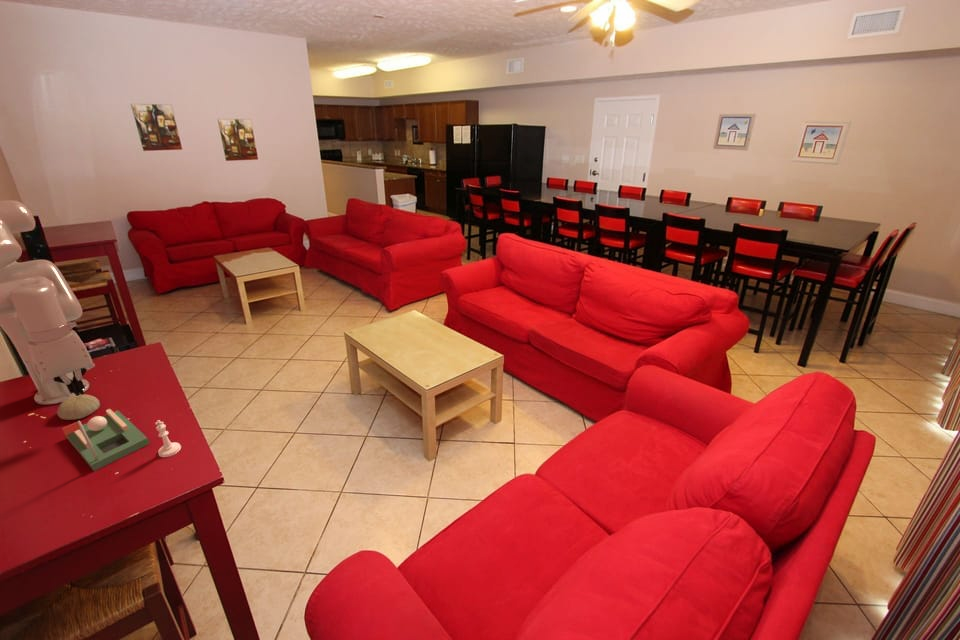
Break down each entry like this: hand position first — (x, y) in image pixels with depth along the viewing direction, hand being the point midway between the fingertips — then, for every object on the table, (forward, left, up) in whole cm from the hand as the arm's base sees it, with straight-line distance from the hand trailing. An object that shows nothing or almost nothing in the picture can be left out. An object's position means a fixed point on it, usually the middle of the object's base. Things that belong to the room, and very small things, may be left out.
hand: (78, 393), depth 114 cm
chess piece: (+27, +8, -12) cm, 31 cm away
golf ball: (+6, 0, -7) cm, 10 cm away
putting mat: (+10, 0, -11) cm, 15 cm away
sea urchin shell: (-11, 0, -12) cm, 16 cm away
